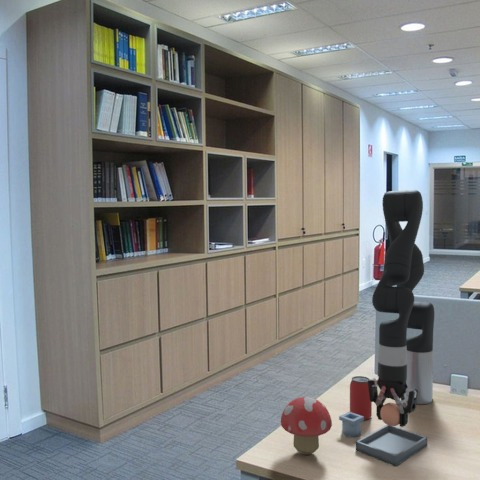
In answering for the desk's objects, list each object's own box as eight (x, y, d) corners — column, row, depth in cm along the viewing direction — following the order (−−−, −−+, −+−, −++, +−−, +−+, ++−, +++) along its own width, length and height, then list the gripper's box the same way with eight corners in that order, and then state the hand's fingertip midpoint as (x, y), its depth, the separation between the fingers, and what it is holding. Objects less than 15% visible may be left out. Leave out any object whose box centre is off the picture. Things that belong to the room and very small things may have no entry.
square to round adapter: (349, 427, 154) (349, 411, 153) (364, 433, 150) (364, 416, 150) (338, 433, 150) (338, 416, 150) (353, 439, 146) (353, 421, 146)
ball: (387, 418, 144) (388, 397, 144) (407, 425, 140) (407, 403, 139) (375, 425, 140) (375, 403, 140) (395, 431, 136) (396, 409, 135)
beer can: (372, 421, 158) (372, 383, 157) (349, 420, 159) (350, 381, 159) (371, 413, 164) (371, 376, 164) (349, 411, 166) (349, 374, 165)
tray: (387, 432, 150) (388, 424, 150) (427, 446, 142) (427, 437, 141) (355, 450, 139) (355, 441, 139) (396, 466, 131) (396, 456, 131)
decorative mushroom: (331, 468, 130) (332, 409, 129) (278, 464, 132) (278, 406, 131) (331, 444, 143) (331, 390, 142) (283, 441, 146) (282, 388, 145)
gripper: (424, 363, 136) (423, 426, 137) (376, 352, 147) (376, 411, 148) (410, 369, 131) (409, 435, 132) (361, 358, 142) (360, 418, 143)
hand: (391, 422), depth 140 cm, fingers closed on ball, 6 cm apart
